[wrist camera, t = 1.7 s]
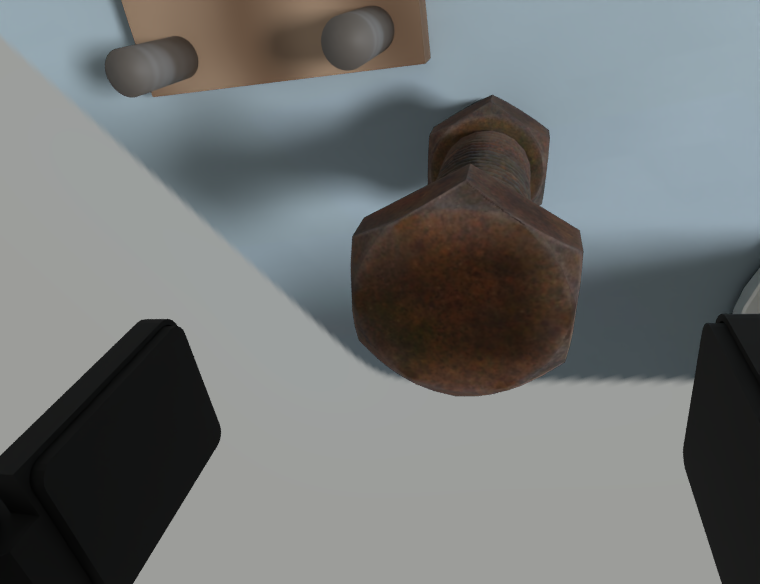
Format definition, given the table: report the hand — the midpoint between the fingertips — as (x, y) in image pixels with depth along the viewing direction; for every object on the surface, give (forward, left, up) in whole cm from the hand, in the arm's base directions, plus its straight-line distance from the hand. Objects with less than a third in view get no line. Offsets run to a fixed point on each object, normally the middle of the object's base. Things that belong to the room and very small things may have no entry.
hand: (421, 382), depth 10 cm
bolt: (0, 0, -18) cm, 18 cm away
